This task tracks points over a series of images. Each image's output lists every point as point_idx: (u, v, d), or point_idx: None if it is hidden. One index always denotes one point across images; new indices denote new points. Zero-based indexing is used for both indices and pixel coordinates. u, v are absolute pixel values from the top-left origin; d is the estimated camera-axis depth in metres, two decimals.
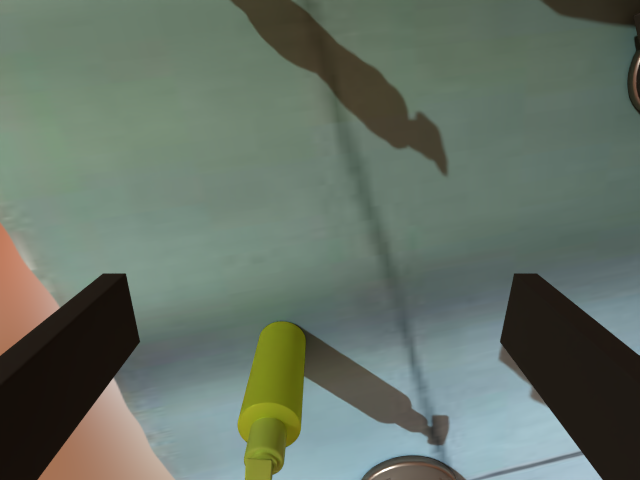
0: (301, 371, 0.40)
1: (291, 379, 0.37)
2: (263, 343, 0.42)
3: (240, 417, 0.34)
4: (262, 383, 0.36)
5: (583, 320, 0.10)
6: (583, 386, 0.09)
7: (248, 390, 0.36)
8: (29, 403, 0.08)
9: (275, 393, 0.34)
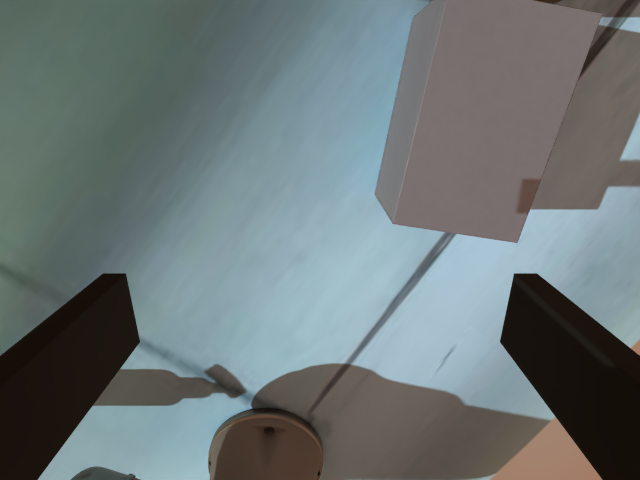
0: None
1: None
2: None
3: None
4: None
5: (583, 320, 0.10)
6: (583, 386, 0.09)
7: None
8: (29, 403, 0.08)
9: None
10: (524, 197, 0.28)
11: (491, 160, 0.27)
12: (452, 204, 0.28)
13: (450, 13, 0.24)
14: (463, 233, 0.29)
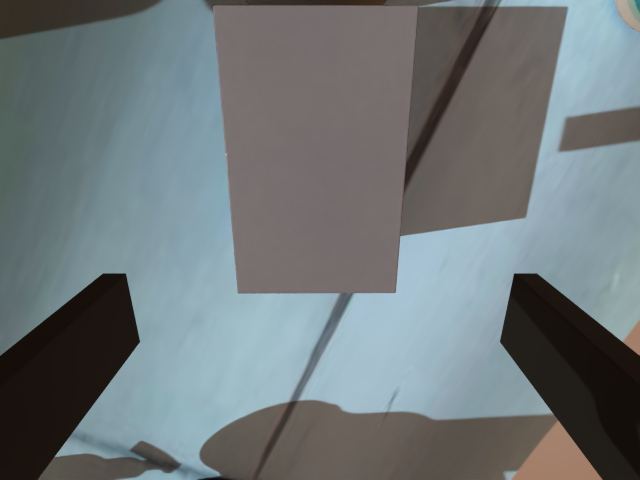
0: None
1: None
2: None
3: None
4: None
5: (583, 320, 0.10)
6: (582, 386, 0.09)
7: None
8: (29, 403, 0.08)
9: None
10: (387, 240, 0.23)
11: (333, 204, 0.22)
12: (302, 261, 0.23)
13: (224, 40, 0.19)
14: (326, 292, 0.24)
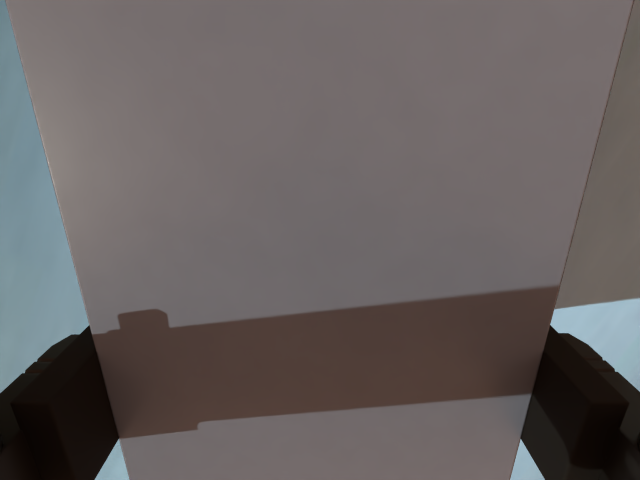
0: None
1: None
2: None
3: None
4: None
5: None
6: None
7: None
8: None
9: None
10: (493, 431, 0.09)
11: (362, 356, 0.08)
12: (284, 471, 0.10)
13: None
14: None
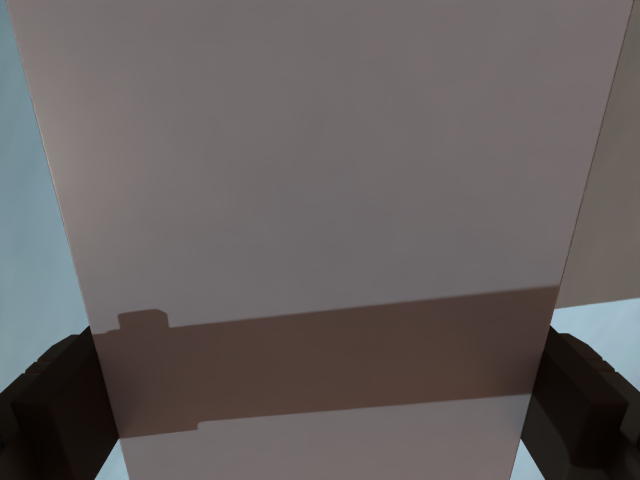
0: None
1: None
2: None
3: None
4: None
5: None
6: None
7: None
8: None
9: None
10: (493, 432, 0.09)
11: (362, 356, 0.08)
12: (284, 471, 0.10)
13: None
14: None
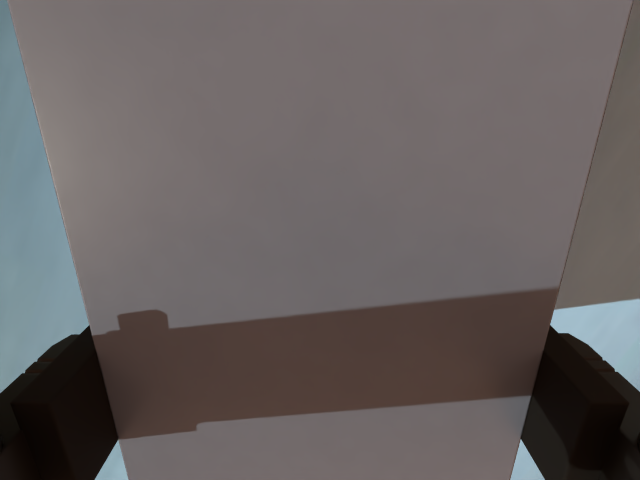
0: None
1: None
2: None
3: None
4: None
5: None
6: None
7: None
8: None
9: None
10: (493, 432, 0.09)
11: (362, 356, 0.08)
12: (284, 471, 0.10)
13: None
14: None
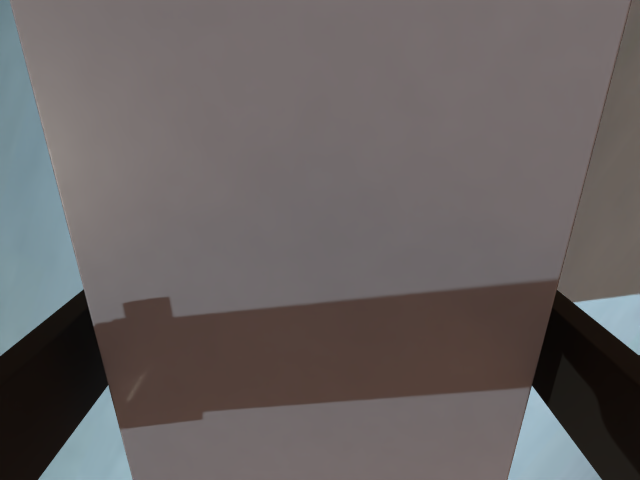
0: None
1: None
2: None
3: None
4: None
5: (582, 320, 0.10)
6: (582, 385, 0.09)
7: None
8: (30, 403, 0.08)
9: None
10: (492, 423, 0.09)
11: (362, 347, 0.08)
12: (285, 462, 0.10)
13: None
14: None
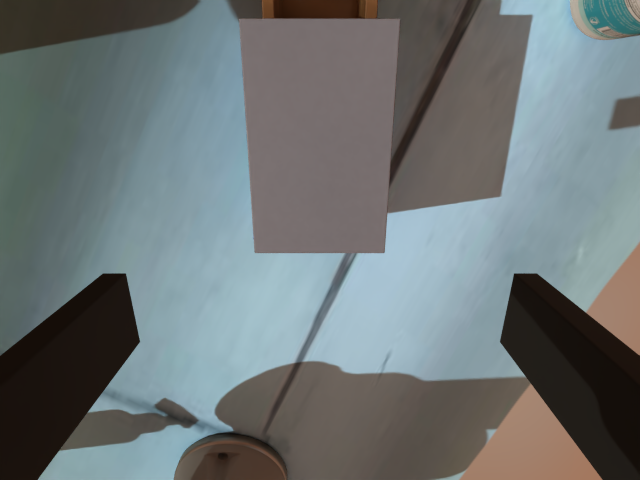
0: None
1: None
2: None
3: None
4: None
5: (583, 320, 0.10)
6: (583, 386, 0.09)
7: None
8: (29, 403, 0.08)
9: None
10: (377, 208, 0.28)
11: (333, 178, 0.27)
12: (307, 226, 0.28)
13: (247, 45, 0.24)
14: (327, 252, 0.29)
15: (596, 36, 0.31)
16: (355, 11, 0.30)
